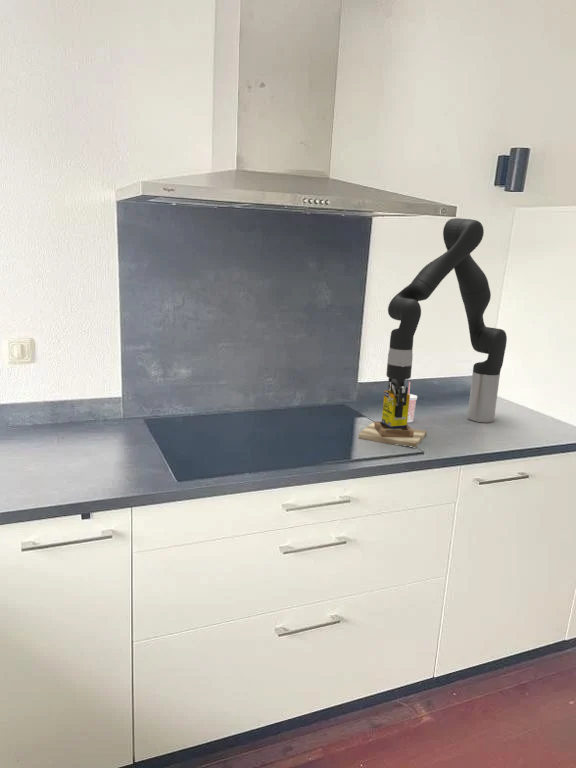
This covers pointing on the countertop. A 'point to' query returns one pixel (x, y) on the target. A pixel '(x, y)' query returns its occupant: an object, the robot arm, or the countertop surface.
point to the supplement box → (389, 411)
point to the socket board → (392, 440)
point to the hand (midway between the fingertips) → (395, 413)
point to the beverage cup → (411, 406)
